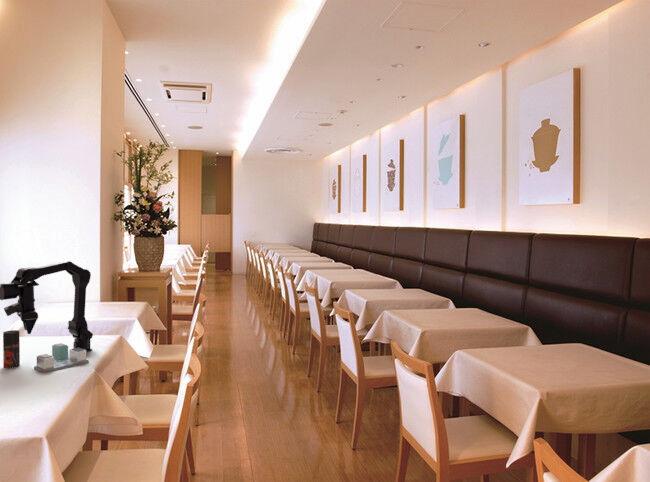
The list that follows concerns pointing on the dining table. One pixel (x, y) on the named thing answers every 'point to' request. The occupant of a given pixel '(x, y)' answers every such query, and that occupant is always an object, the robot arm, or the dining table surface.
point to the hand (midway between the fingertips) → (27, 331)
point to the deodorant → (11, 349)
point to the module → (60, 351)
